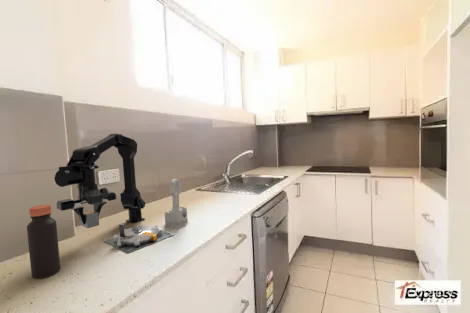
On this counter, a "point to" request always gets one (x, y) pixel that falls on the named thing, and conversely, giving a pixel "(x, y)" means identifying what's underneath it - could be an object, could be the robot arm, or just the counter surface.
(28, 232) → the bottle
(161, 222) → the counter surface
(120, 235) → the sprocket
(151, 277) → the counter surface
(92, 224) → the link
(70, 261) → the counter surface
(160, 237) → the cover plate
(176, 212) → the engine component
